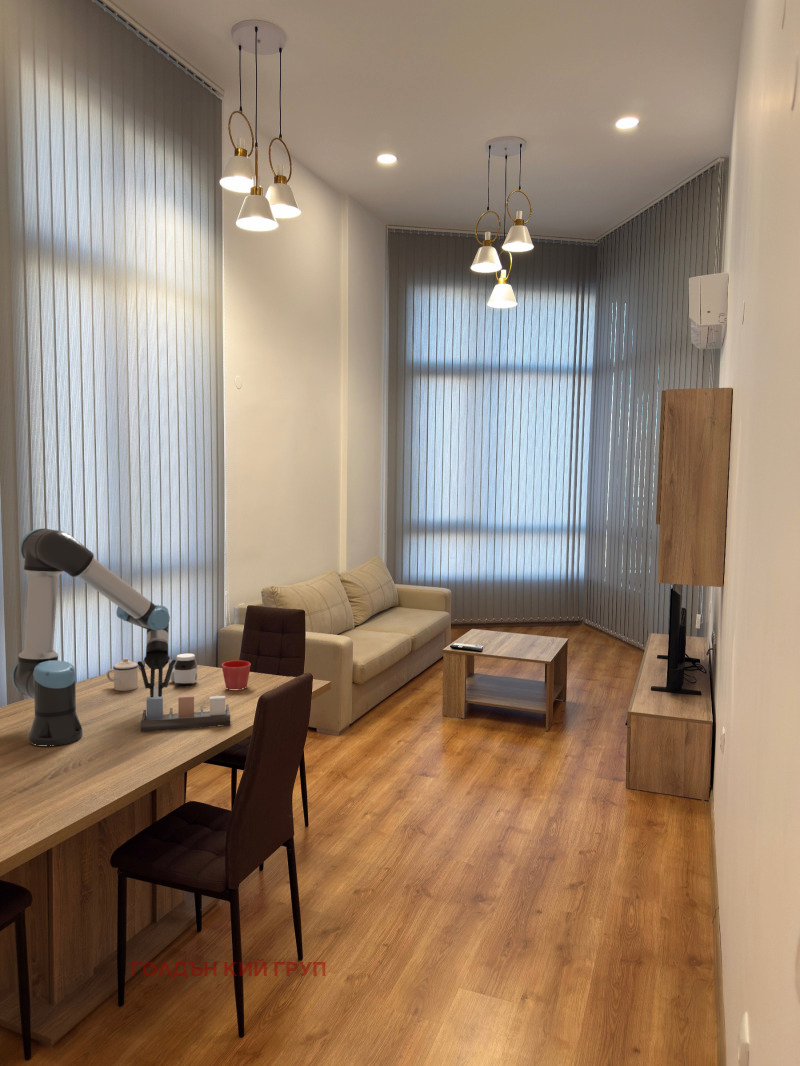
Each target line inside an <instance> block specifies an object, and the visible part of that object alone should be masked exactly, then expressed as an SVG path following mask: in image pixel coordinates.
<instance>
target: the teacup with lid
mask: <svg viewBox="0 0 800 1066" xmlns="http://www.w3.org/2000/svg"><path fill="white" fill-rule="evenodd" d="M138 670H139V668H138V662H135V661H131V660H129V658H128V657H124V658H122V660H121V661H119V662H117V663H115V664H114V665H113V666H112V668H111V669H108V670H107V672H106V678H107V680H108V681H109V682H111V683H113V688H114V690H115V691H119V692H120V691H121V692H126V691H127V692H129V691H132V690H136V689H137V688H138V687H139V684H138V683H139V676H138V674H139V673H138V672H139V671H138ZM110 672H113V679H112V678H111V676H110Z"/></svg>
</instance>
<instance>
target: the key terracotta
mask: <svg viewBox="0 0 800 1066" xmlns="http://www.w3.org/2000/svg"><path fill="white" fill-rule="evenodd" d="M177 697H178V698H177V699H178V700H177V701H178V704H177V705H178V713H179V718H182V717H194V712H195V694H184V695H178V696H177Z"/></svg>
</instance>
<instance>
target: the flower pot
mask: <svg viewBox="0 0 800 1066" xmlns="http://www.w3.org/2000/svg"><path fill="white" fill-rule="evenodd" d="M251 665H252V664H251V662H249V661H246V660H239V659H238V660H229V661H225V662H222V664H221V669H222V674H223V675H222V676H223V679H224V684H225V689H226V688H228V689H242V688H245V687H246V688H247V687H248V681H249V677H250V676H249V675H250V670H251Z"/></svg>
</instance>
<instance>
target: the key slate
mask: <svg viewBox="0 0 800 1066" xmlns="http://www.w3.org/2000/svg"><path fill="white" fill-rule="evenodd" d="M163 715H164V696H162V697H146V716H147V720H153V719H163Z"/></svg>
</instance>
